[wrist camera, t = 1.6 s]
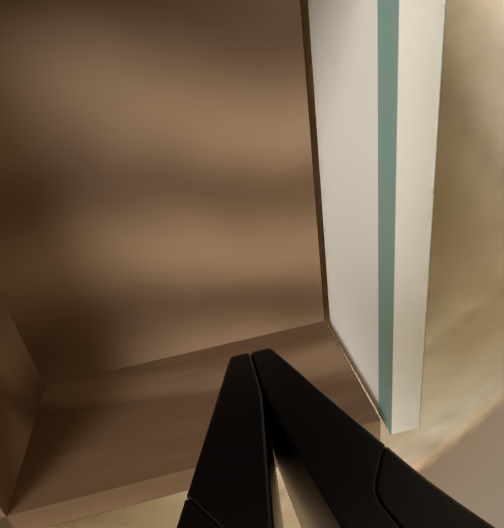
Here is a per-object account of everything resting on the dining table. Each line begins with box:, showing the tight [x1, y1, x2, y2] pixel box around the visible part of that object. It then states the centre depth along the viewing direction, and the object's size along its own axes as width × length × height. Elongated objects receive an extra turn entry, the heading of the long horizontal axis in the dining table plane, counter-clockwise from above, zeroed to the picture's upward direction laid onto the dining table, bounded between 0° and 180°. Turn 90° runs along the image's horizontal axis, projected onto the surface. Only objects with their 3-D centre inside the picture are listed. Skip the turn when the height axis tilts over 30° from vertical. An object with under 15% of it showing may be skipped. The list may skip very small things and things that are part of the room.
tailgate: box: [308, 0, 446, 435], centre depth 17 cm, size 19×1×8 cm, turn 8°
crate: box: [0, 0, 380, 528], centre depth 17 cm, size 20×16×8 cm
